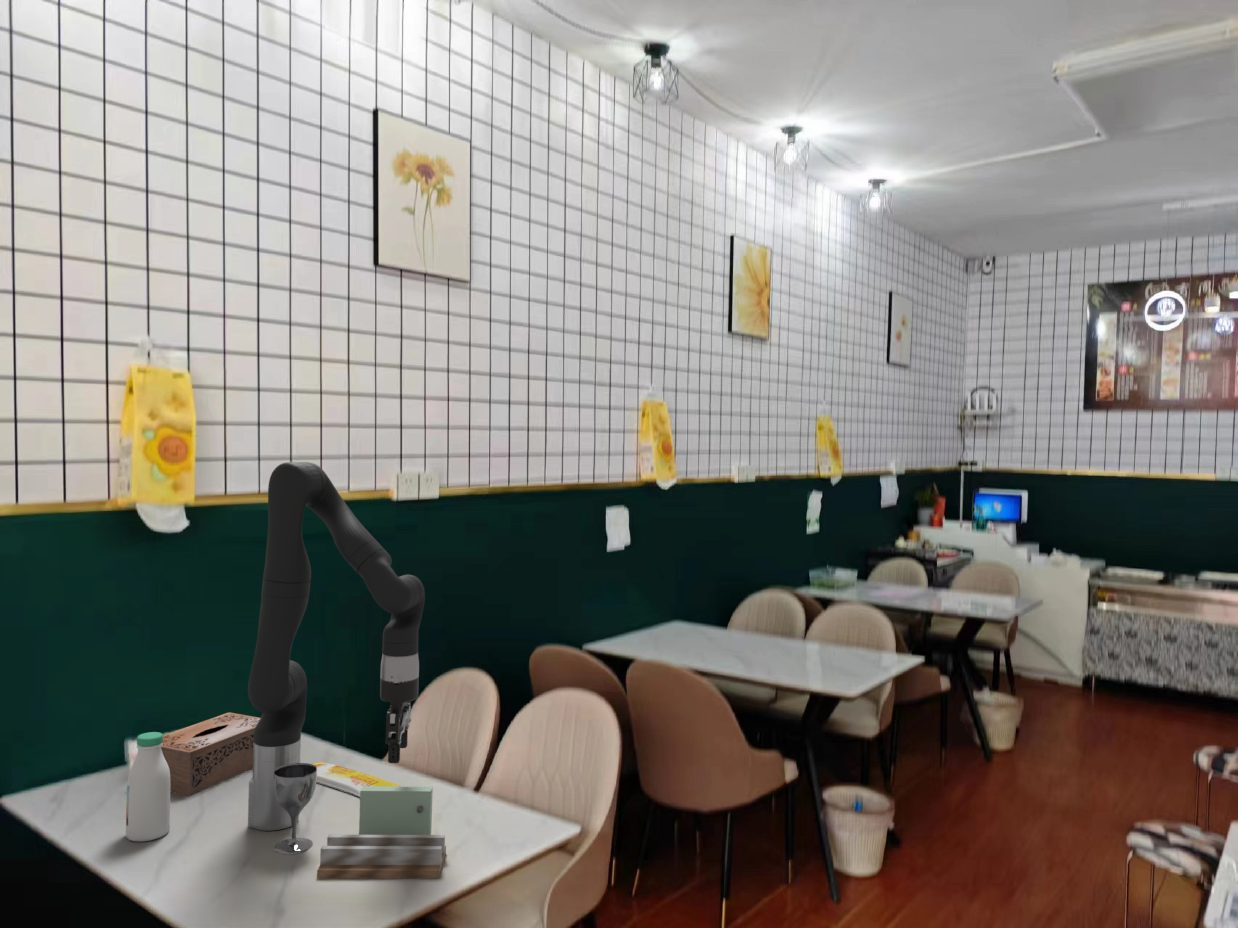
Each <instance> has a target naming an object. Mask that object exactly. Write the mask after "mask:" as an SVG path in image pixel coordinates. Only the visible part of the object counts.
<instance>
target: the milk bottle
mask: <svg viewBox="0 0 1238 928" xmlns="http://www.w3.org/2000/svg"><path fill="white" fill-rule="evenodd" d="M163 735H164V734H163V733H162V732H160V731H159V732H157V731H152V732H151V731H149V732H144V733H141V734H139V735H137V738H136V748H137V754H136V757H135V758H134V762H133V763H132V766H131V768H130V770H129V772H128V775H127V777H128V778H127V786H126V787H127V788H126V807H125V808H126V811H125V812H126V813H125V814H126V815H125V816H126V817H125V820H126V821H125V823H126V824H125V837H126V838H127V839H128V840H129V841H131V842H148V841H154V840H157V839H159V838H160V839H161V838H162V837H164V836H165V835H167V834H168V833H169V830H170V827H171V826H170V824H171V822H170V821H171V819H170V818H171V792H170V770H169V767H168V764H167V762H166V760H165V758H164V756H163V753H162V749H161V746H162V745H163V743H162V742H163Z"/></svg>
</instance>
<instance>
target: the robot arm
mask: <svg viewBox="0 0 1238 928" xmlns="http://www.w3.org/2000/svg"><path fill="white" fill-rule="evenodd" d="M305 508H308V509H310V511H312V512H313V513H314V514H315V515H316V516H318V517H319V518H320V519H321V520H322V521H323V523H324V524H325V525H326V527H327V529H328V530H329V532H330V534H331V537H332V539H333V542H334V544H335V546H336V548H337V549H338V552H339V553H340V555H341V556H342V557H343V559H345V561H346V562H347V563H348V564H349V566H351V568H352V569H353V570H354V571H355V572H356V573H357V574H358V575H359V576H360V577H361V578H362V579H363V581H364V583H365V586H366V588H367V589H368V591H369V593H370V594H371V596H372V598H373V600H374V601H375V602H376V604H377V605H378V606H379V607H380V608H381V609H382V610H384V611H386V612H387V613H390V614H391V616H390V620H389V622H388V623H387V624H386V625H385V627H384V628H383V631H382V649H381V651H382V656H381V661H380V678H379V679H380V680H379V683H380V684H379V687H380V689H379V698H380V700H381V701H383V702H385V703H389V704H390V706H389V709H387V710H386V711H387V712H386V714H385V718H386V719H385V740H384V743H385V745H388V747H387V750H388V751H387V762H388V763H389V764H398V763H400V761H401V749H406V748H407V747H408V741H409V740H408V738H409V737H408V736H409V735H408V731H409V728H410V723H411V721H412V719H411V712H412V711H411V710H412V709H411V708H412V707H411V702H412V701H415V700H416V699H418V698H419V684H420V683H419V679H420V678H419V677H420V675H419V674H420V659H419V629H420V625H421V623H422V618H423V617H422V616H423V613H424V607H425V603H426V602H425V600H426V598H425V597H426V595H425V594H426V592H425V587H424V584H423V583H422V581H421V579H419V577H418V576H415V575H412V574H403V575H401V576H398V575H397V574H396V572H395V571H394V569H393V568H392V567H391V566H392V561H393V560H392V557H391V555H390V554H389V552H388V551H387V550H386V549H385V548H384V547H383V546H382V545H381V543H379V541H377V539H376V538H374V536H373V535H372V534H371V533H370V532H369V530H367V529H366V528H365V527H364V525H363V524H362V523H361V521H359V519H358V518H357V517H356V516H355V514H354V513H353V511H352V510H351V508H350V507H349V506H348V505H347V503H346V502H345V500H344V499H343V497H342V496H341V495H340V493H339V492H338V490H337V488H336V487H335V485H334V484H333V482H332V481H331V479H330V478H329V476H328V475H327V473H326V472H325V471H324V470H323V468H321V467H320V466H319V465H317V464H316V463H313V462H309V461H287V462H283V463H281V464H279V465H277V466H276V467H275V468H274V469H273V470H272V472H271V473H270V477H269V480H268V487H267V512H268V513H267V515H268V516H267V520H268V522H267V523H268V524H267V537H266V549H265V559H264V560H265V562H264V569H263V577H262V584H261V585H262V586H261V598H260V599H261V600H260V608H259V609H260V610H259V618H258V627H257V639H256V645H255V649H254V655H253V660H252V664H251V669H250V674H249V677H248V684H247V694H248V699H249V701H250V703H251V705H252V707H253V708H254V709H255V710H256V711H258V712H259V713H262V714H261V717H260V718H261V719H260V720H259V722H258V724H257V725H256V727H255V729H254V737H253V768H252V777H251V779H249V781H248V806H247V827H248V828H254V829H255V830H258V831H269V832H270V831H279V830H283V829H287V828H290V827H292V825H291V818H290V816H289V814H288V812H287V811H286V810H285V809H284V808H283V807H282V806H281V805H280V804H279V803H278V801H277V799H276V796H275V790H274V771H275V770H276V769H277V768H279V767H281V766H284V765H288V764H294V763H301V748H302V747H301V746H302V745H301V742H302V738H301V737H302V730H303V726H304V723H305V720H306V712H307V696H308V681H307V675H306V672H305V670H304V668H303V667H302V665H300V663H298V662H296V661H295V660H292V659H291V653H292V647H293V643H294V640H295V637H296V636H297V631H298V630H299V627H300V625H301V622H302V620H303V618H304V615H305V612H306V610H307V607H308V603H309V599H310V598H309V597H310V589H311V579H312V568H311V564H310V559H309V556H308V553H307V549H306V546H305V543H304V540H303V522H304V514H305ZM392 734H395V737H392ZM299 816H300V815H299ZM299 816H298V820H297V822H298V821H299V818H300V817H299Z"/></svg>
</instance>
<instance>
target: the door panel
mask: <svg viewBox="0 0 1238 928" xmlns="http://www.w3.org/2000/svg"><path fill="white" fill-rule="evenodd" d="M433 793H434V791H433V786H401V787H392V786H363V787H362V789H361V791H360V797H359V821H358V822H359V827H358V828H359V830H358V835H432V823H433V822H432V818H433V816H432V815H433Z"/></svg>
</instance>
